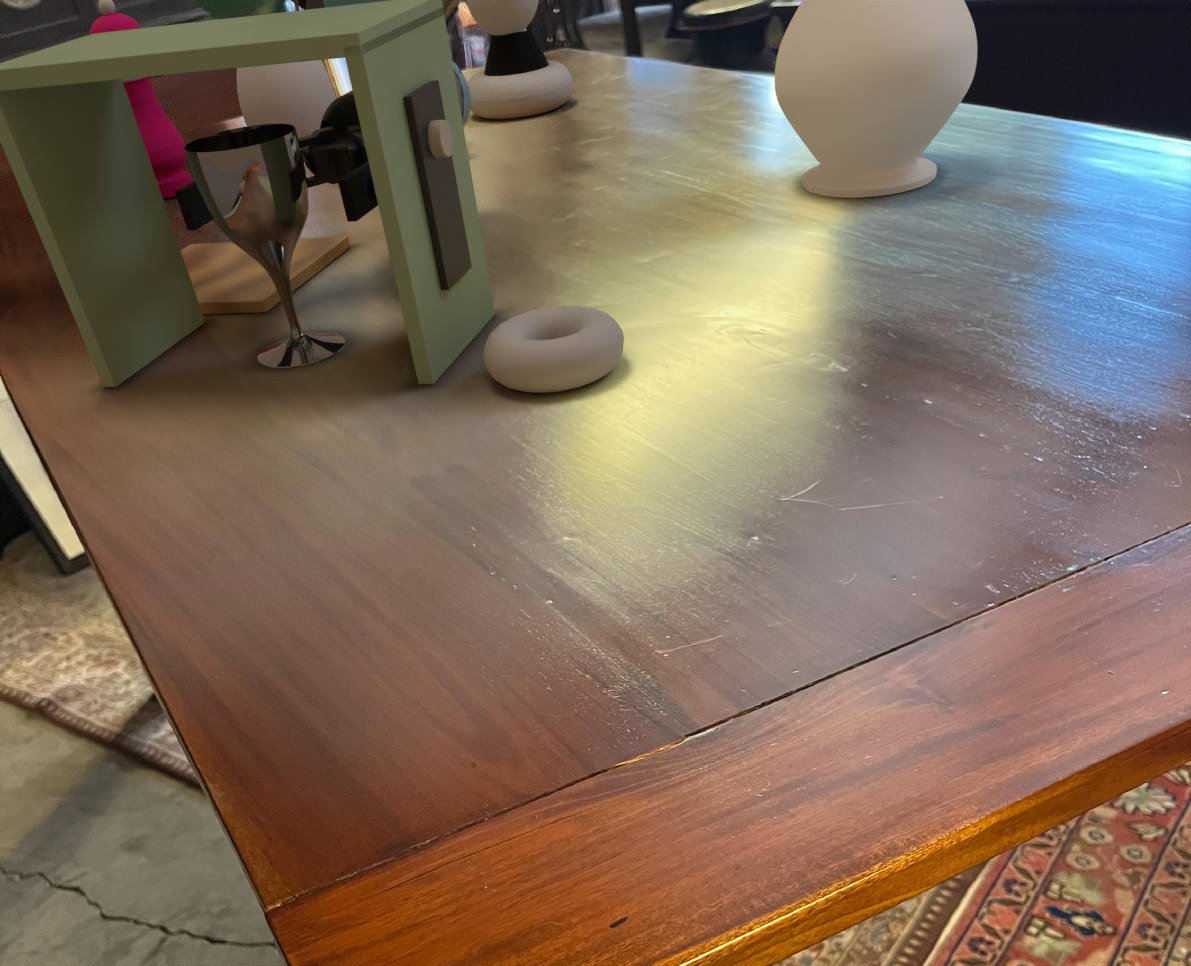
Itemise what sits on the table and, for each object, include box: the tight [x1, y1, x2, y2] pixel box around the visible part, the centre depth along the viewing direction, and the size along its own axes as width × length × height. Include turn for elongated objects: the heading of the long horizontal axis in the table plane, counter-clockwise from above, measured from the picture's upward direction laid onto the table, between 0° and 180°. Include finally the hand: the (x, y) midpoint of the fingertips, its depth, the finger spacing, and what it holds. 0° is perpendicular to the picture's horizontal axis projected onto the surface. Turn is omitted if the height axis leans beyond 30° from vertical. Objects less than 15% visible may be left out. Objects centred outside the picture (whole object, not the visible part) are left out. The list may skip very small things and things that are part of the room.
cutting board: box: [180, 236, 351, 315], centre depth 104 cm, size 18×18×1 cm
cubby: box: [0, 0, 496, 388], centre depth 80 cm, size 30×14×21 cm, turn 75°
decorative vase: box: [774, 0, 978, 199], centre depth 97 cm, size 18×18×25 cm
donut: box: [482, 305, 625, 394], centre depth 77 cm, size 10×3×10 cm
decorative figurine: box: [466, 0, 574, 120], centre depth 143 cm, size 15×15×20 cm
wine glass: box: [184, 124, 347, 369], centre depth 83 cm, size 8×8×15 cm
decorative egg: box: [236, 60, 337, 138], centre depth 141 cm, size 12×12×15 cm
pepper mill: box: [89, 0, 194, 200], centre depth 130 cm, size 7×7×20 cm
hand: (264, 206), depth 81 cm, fingers open, 13 cm apart
